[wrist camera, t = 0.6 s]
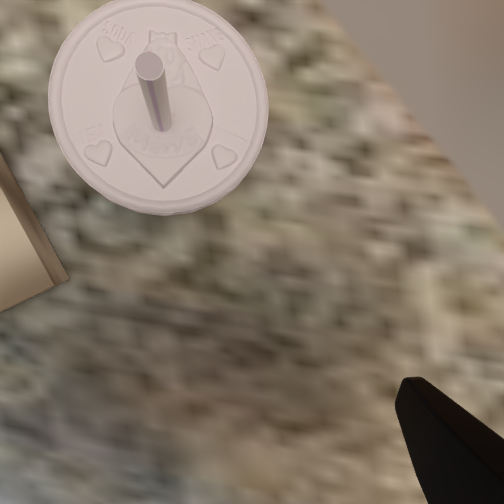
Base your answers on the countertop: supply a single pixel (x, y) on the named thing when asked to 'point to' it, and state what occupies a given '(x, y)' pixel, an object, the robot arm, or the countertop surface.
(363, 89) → the countertop surface
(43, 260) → the plinth
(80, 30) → the smoothie
